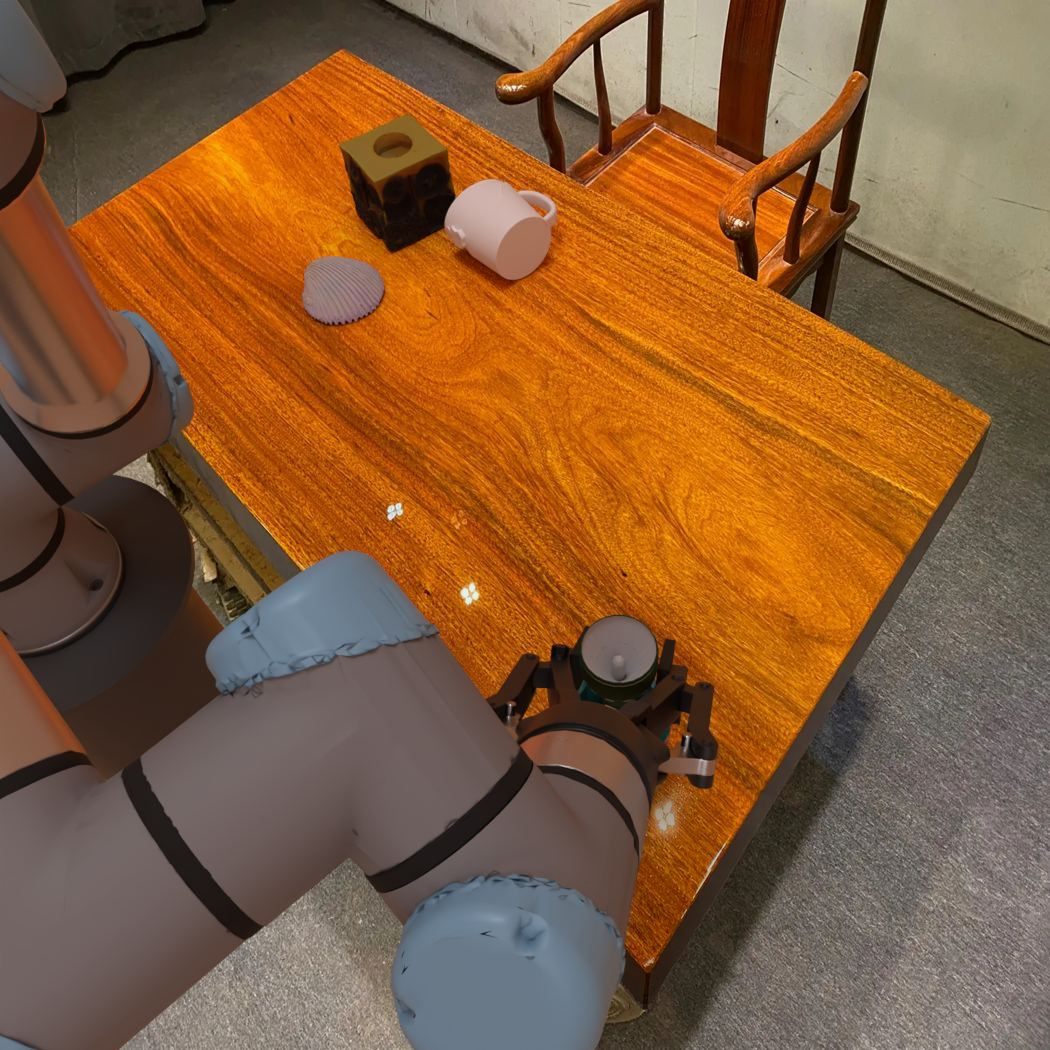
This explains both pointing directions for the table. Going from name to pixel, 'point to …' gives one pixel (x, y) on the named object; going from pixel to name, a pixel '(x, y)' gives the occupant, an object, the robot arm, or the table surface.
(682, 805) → the table surface
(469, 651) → the table surface
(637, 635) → the flashlight
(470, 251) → the mug
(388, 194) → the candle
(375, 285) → the seashell
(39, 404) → the robot arm
